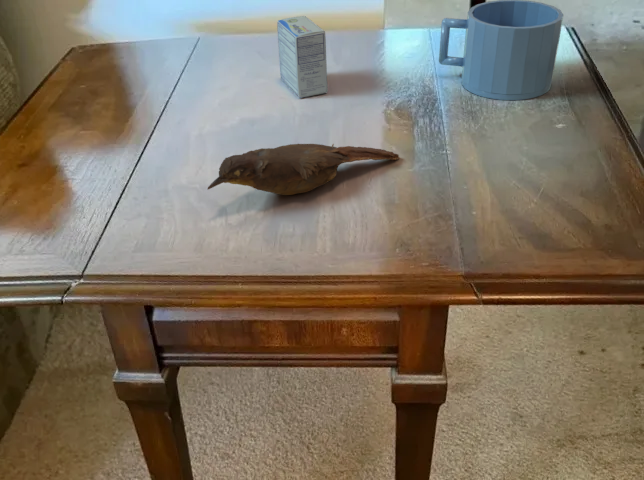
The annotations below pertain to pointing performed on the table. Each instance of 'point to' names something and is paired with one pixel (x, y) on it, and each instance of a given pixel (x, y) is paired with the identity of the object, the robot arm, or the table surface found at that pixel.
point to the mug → (506, 48)
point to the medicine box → (302, 56)
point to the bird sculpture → (292, 166)
